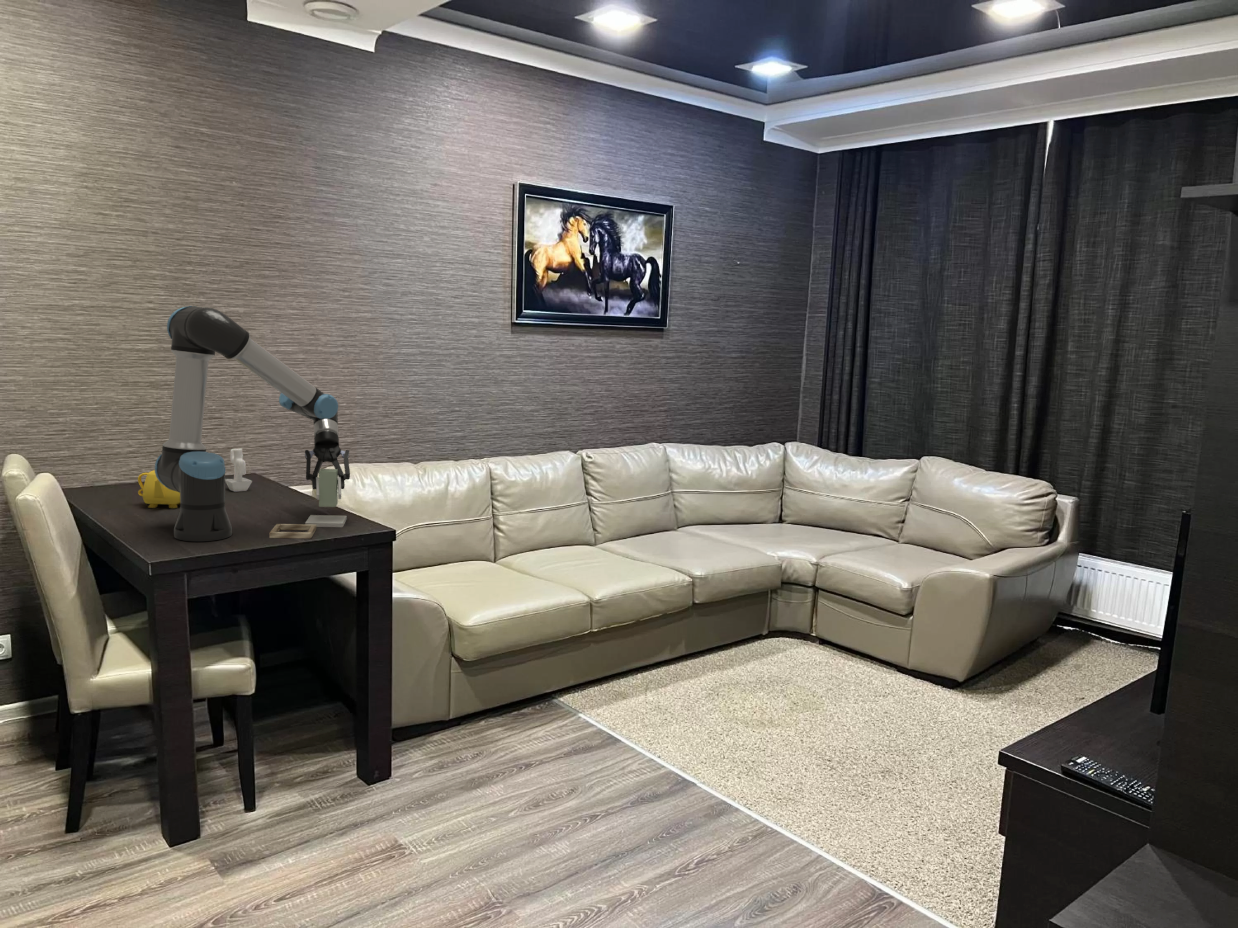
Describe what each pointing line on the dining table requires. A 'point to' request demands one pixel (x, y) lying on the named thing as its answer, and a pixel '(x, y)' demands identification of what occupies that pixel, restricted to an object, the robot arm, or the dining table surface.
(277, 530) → the board
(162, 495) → the teapot
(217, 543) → the dining table surface
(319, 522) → the grey mat
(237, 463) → the figurine
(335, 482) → the sage block
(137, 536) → the dining table surface
